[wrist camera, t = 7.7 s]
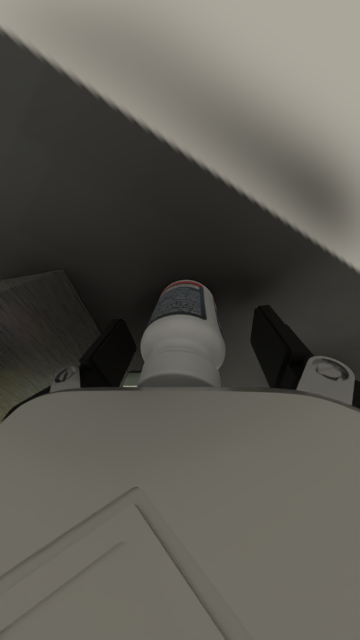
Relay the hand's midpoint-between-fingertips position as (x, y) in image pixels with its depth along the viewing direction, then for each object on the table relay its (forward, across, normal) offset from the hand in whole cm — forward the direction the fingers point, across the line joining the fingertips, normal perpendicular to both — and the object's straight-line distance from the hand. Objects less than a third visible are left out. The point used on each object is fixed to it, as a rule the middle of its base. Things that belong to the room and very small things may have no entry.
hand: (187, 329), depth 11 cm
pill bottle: (+4, 0, 0) cm, 4 cm away
